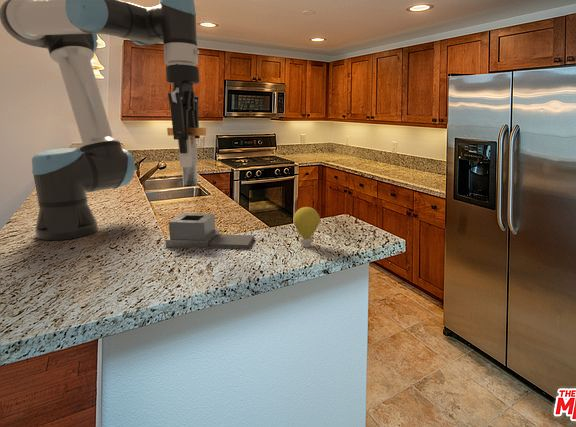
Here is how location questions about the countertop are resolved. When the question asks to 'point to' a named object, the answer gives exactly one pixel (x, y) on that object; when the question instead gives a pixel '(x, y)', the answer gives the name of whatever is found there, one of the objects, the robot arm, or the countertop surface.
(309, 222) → the light bulb
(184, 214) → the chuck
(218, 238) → the mat
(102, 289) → the countertop surface
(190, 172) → the key
